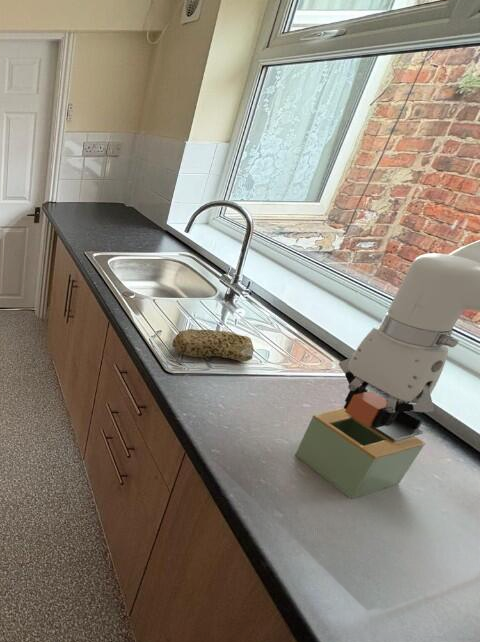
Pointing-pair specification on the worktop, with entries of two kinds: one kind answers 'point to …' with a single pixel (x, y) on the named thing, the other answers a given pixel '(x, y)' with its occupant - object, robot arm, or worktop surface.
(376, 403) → the block
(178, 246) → the worktop surface
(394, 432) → the slider
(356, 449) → the green open box
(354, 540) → the worktop surface
